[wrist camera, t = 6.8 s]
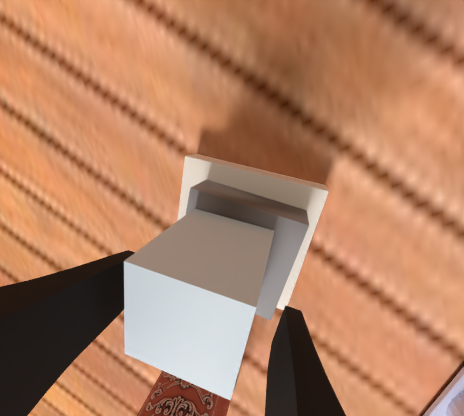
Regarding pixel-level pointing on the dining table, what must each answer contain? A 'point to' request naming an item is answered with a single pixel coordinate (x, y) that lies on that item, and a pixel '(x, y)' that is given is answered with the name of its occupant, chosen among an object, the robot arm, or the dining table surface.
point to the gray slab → (263, 215)
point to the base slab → (263, 185)
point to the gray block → (196, 298)
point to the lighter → (182, 399)
